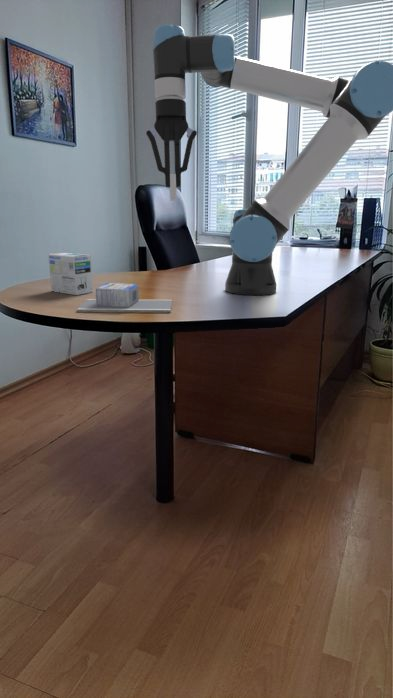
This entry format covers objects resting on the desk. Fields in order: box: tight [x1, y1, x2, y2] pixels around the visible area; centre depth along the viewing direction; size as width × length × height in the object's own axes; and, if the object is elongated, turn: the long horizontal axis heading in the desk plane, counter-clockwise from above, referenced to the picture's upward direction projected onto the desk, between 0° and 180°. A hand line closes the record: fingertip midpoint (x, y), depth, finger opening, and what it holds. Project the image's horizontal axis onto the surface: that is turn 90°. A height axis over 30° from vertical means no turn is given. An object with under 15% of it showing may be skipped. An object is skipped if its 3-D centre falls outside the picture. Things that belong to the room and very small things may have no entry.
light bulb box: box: [48, 252, 94, 296], centre depth 135 cm, size 11×7×11 cm, turn 58°
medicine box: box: [95, 282, 140, 307], centre depth 119 cm, size 8×4×9 cm
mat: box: [76, 298, 173, 314], centre depth 118 cm, size 22×12×1 cm, turn 91°
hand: (173, 200), depth 124 cm, fingers closed
